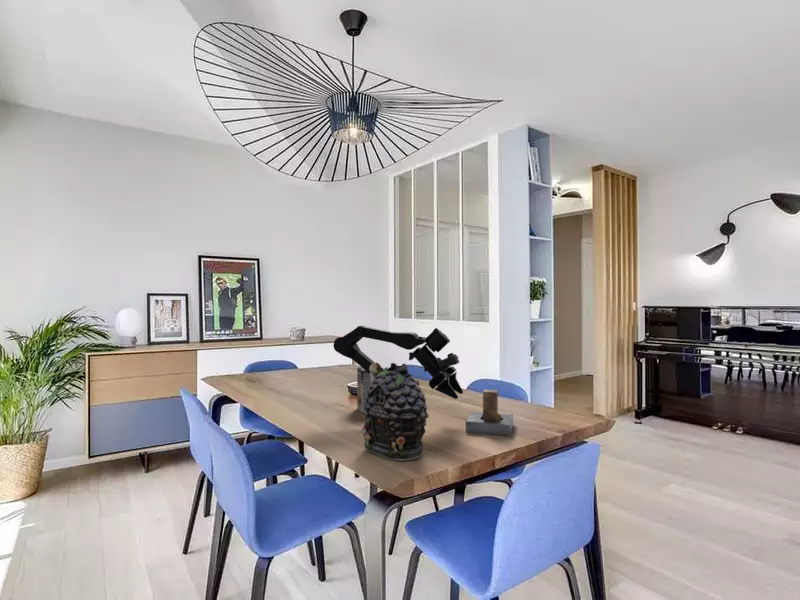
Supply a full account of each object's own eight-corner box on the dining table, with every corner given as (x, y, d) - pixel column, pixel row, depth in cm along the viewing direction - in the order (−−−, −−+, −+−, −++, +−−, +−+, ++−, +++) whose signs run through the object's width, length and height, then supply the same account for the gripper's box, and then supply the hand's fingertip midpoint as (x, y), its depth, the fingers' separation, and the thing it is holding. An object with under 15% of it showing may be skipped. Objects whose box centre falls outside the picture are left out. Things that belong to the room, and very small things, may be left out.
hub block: (465, 432, 145) (465, 421, 145) (472, 421, 158) (472, 411, 158) (510, 436, 140) (510, 425, 140) (513, 425, 154) (513, 414, 154)
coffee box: (356, 408, 178) (356, 367, 178) (372, 407, 180) (372, 367, 180) (361, 413, 169) (361, 370, 169) (378, 412, 171) (378, 370, 171)
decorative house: (348, 450, 126) (349, 361, 126) (385, 438, 137) (385, 357, 138) (404, 468, 112) (405, 368, 112) (440, 453, 123) (440, 362, 124)
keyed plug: (482, 429, 148) (483, 391, 148) (484, 426, 152) (484, 389, 152) (500, 431, 146) (500, 392, 146) (501, 427, 150) (501, 390, 150)
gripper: (439, 348, 146) (472, 384, 142) (451, 343, 164) (480, 376, 160) (415, 370, 148) (447, 407, 145) (429, 364, 166) (458, 396, 162)
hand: (459, 395), depth 153 cm, fingers open, 9 cm apart
